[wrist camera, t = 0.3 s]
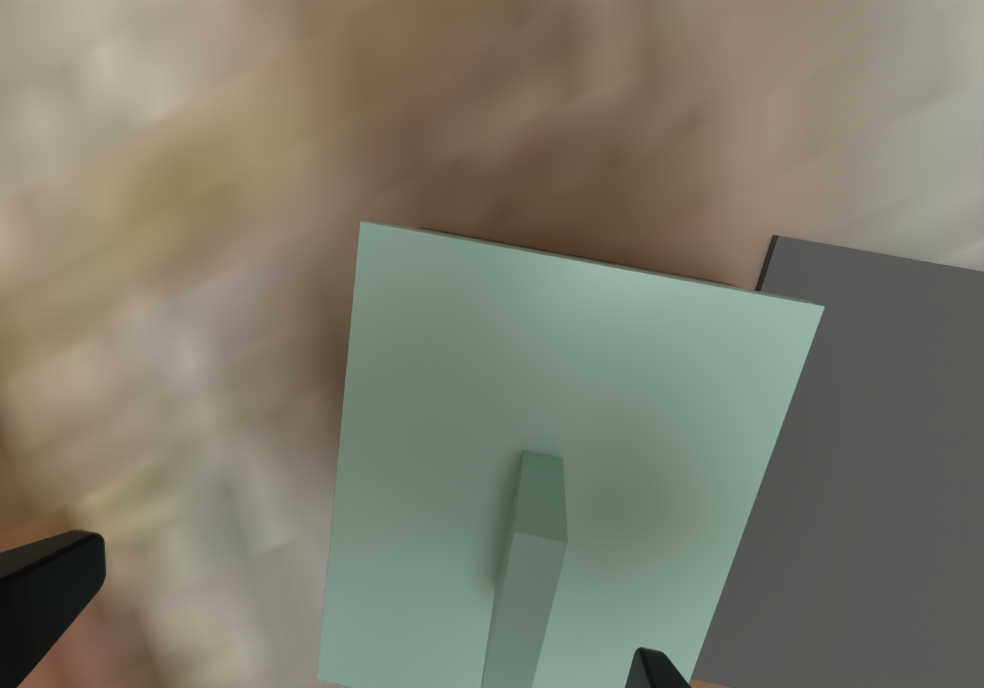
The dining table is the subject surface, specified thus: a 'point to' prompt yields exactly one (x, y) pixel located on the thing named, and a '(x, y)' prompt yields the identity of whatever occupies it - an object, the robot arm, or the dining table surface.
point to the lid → (542, 462)
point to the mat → (866, 488)
